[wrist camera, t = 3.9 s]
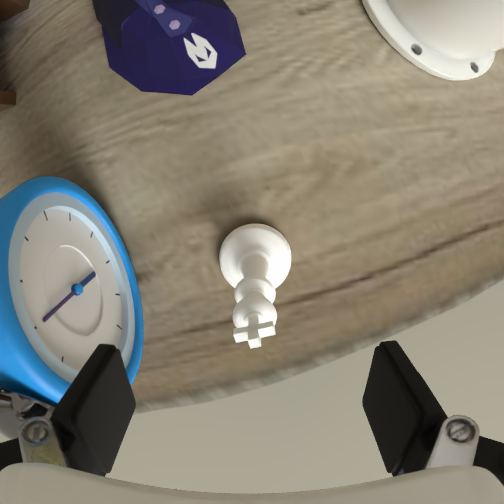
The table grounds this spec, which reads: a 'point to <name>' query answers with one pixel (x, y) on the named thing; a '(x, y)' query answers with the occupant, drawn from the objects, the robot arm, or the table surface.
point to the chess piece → (254, 278)
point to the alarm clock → (59, 296)
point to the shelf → (3, 7)
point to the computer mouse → (169, 42)
